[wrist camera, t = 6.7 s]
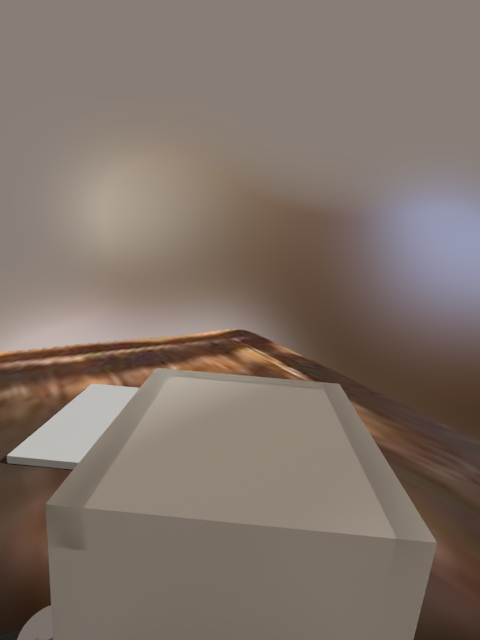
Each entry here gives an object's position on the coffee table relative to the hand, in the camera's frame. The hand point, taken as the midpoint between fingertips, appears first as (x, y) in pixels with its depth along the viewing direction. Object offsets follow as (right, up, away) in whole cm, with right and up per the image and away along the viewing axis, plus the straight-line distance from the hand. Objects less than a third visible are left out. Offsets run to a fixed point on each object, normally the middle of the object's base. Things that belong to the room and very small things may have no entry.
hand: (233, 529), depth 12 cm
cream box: (-1, -7, -1) cm, 7 cm away
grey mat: (-10, -2, +19) cm, 21 cm away
